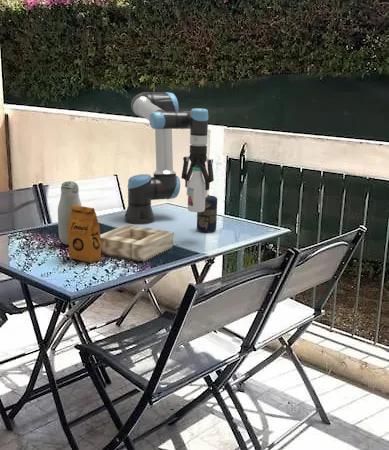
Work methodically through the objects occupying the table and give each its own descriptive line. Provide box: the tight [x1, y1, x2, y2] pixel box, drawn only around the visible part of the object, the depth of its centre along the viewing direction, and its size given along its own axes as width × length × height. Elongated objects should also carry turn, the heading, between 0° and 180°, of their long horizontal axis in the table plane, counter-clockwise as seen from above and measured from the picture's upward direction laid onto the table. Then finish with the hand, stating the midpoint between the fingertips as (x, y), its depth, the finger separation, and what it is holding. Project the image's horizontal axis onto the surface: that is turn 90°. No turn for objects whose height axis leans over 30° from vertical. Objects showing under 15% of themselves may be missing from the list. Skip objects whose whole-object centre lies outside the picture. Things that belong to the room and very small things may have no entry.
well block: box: [100, 223, 174, 263], centre depth 243 cm, size 24×24×7 cm
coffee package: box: [68, 205, 102, 264], centre depth 227 cm, size 10×12×22 cm
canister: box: [196, 194, 218, 233], centre depth 275 cm, size 10×10×18 cm
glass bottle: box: [57, 181, 82, 246], centre depth 245 cm, size 10×10×28 cm
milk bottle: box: [187, 166, 205, 213], centre depth 253 cm, size 8×8×20 cm
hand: (196, 195), depth 254 cm, fingers closed on milk bottle, 7 cm apart
